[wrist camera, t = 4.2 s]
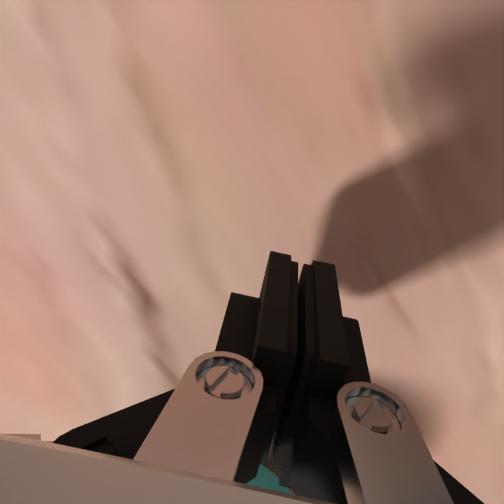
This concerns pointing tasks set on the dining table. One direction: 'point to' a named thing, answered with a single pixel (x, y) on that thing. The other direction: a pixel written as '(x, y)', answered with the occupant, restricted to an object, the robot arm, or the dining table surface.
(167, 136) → the dining table surface
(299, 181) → the dining table surface
